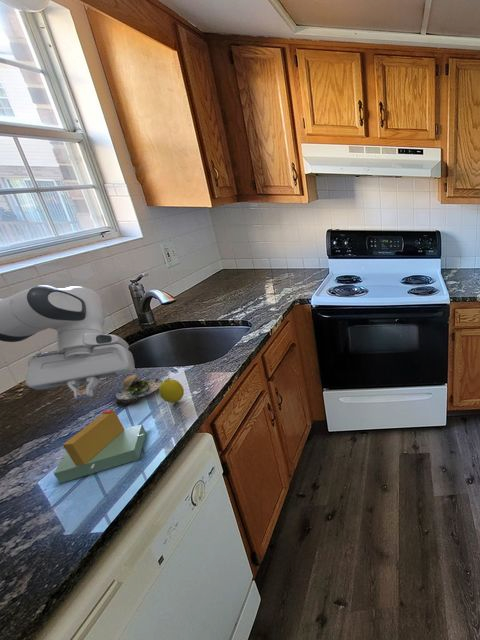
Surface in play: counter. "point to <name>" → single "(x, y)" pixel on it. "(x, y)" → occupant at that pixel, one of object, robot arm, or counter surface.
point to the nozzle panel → (105, 455)
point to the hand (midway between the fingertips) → (83, 397)
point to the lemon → (171, 391)
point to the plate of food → (136, 389)
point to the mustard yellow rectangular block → (93, 437)
